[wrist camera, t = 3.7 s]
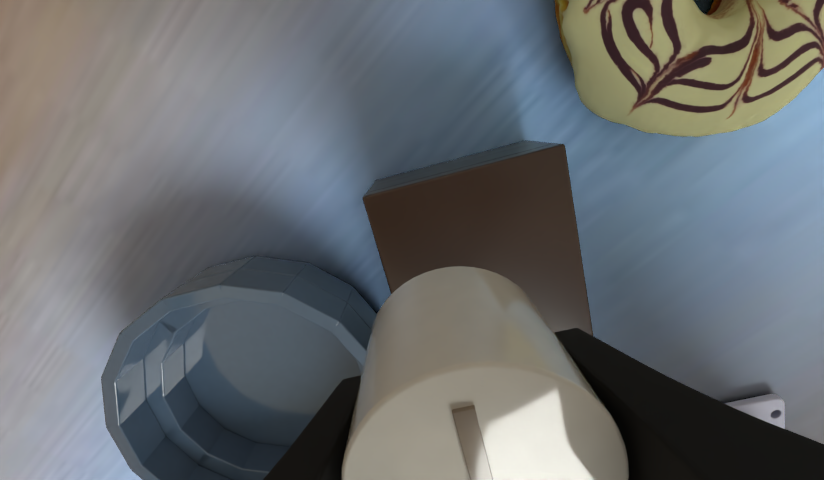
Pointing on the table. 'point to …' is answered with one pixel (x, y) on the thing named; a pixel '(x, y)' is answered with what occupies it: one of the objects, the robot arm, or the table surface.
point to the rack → (488, 225)
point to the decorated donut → (691, 60)
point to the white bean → (475, 390)
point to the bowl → (232, 368)
